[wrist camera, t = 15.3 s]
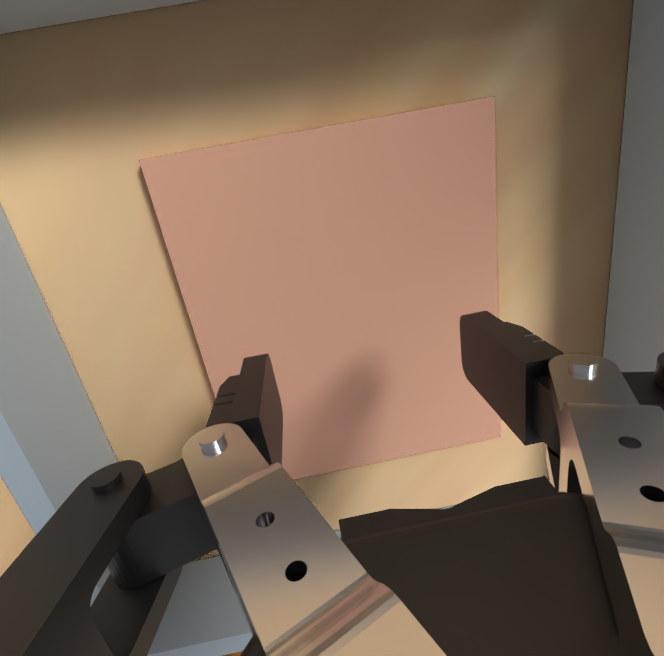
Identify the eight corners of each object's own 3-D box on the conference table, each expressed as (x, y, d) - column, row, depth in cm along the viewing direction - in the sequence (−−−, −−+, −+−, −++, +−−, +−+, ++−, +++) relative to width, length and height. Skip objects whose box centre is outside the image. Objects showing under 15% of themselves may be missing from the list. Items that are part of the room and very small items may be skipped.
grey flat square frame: (-126, 10, 11) (-326, -69, 8) (675, -121, 12) (844, -251, 9) (152, 585, 20) (121, 677, 16) (609, 487, 21) (678, 554, 17)
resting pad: (142, 160, 13) (138, 160, 13) (489, 98, 14) (494, 96, 13) (245, 483, 19) (244, 490, 18) (496, 431, 19) (500, 436, 19)
